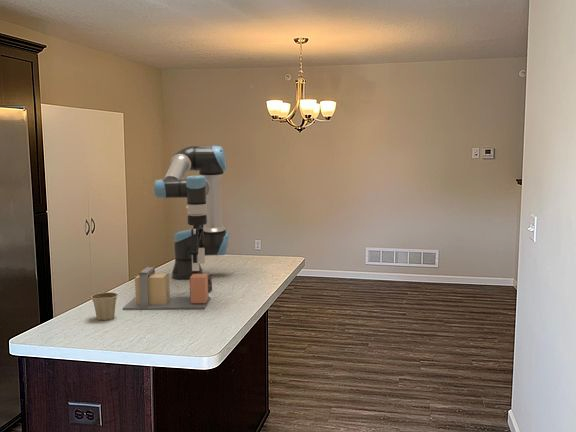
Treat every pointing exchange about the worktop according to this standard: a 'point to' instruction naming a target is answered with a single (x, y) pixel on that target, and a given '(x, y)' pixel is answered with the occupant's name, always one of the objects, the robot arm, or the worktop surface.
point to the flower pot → (104, 305)
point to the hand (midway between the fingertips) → (198, 267)
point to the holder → (157, 294)
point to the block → (198, 288)
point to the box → (209, 283)
